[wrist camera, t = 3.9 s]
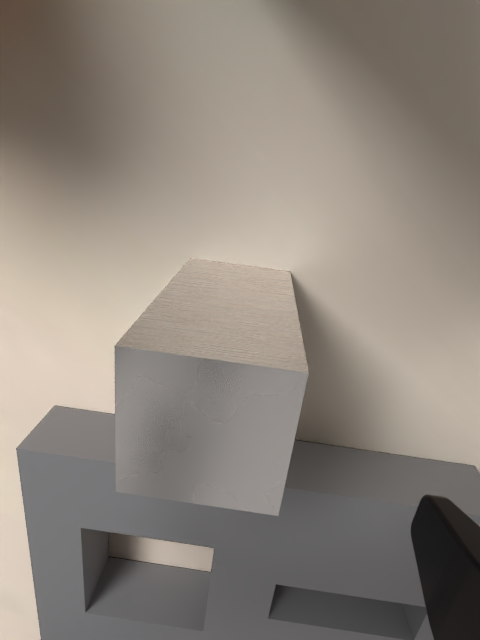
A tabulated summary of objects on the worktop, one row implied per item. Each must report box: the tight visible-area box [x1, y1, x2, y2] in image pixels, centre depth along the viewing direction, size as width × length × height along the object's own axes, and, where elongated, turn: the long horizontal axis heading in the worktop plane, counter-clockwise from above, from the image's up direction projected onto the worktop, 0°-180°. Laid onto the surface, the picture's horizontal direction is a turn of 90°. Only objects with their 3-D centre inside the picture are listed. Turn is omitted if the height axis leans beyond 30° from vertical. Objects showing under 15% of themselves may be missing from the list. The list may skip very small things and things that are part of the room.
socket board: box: [16, 406, 480, 640], centre depth 19 cm, size 14×20×3 cm
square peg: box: [115, 258, 309, 516], centre depth 12 cm, size 4×4×8 cm
